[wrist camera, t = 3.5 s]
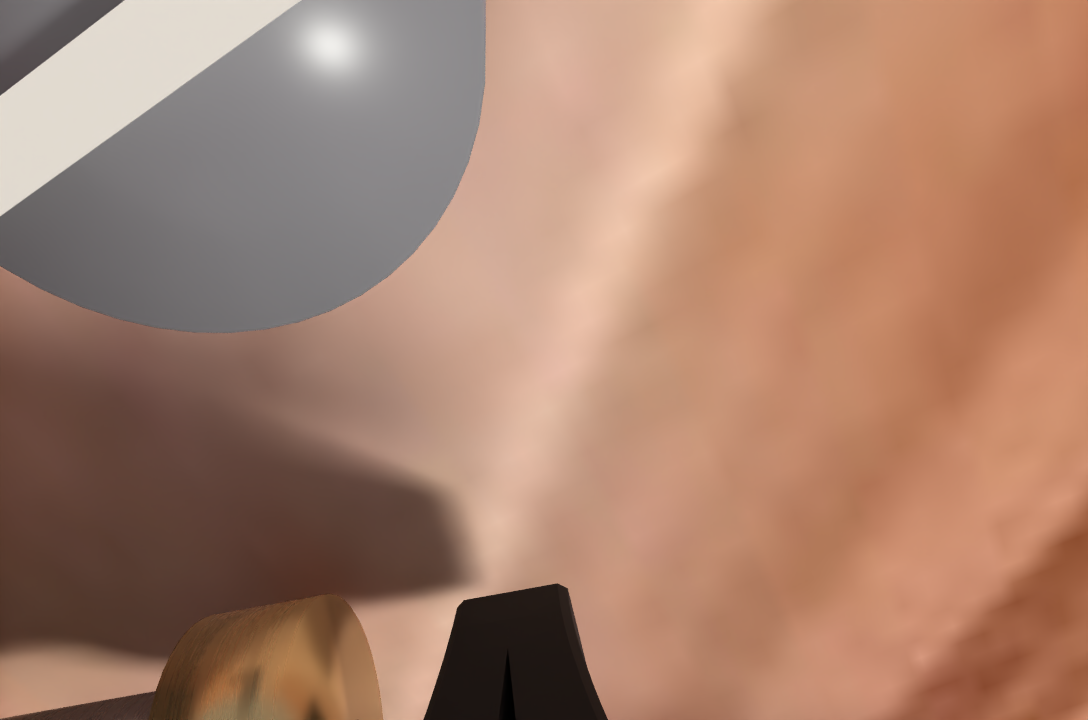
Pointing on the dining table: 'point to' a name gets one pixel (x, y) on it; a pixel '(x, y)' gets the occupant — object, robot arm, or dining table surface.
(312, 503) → the dining table surface
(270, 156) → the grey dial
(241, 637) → the plunger
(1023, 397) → the dining table surface
